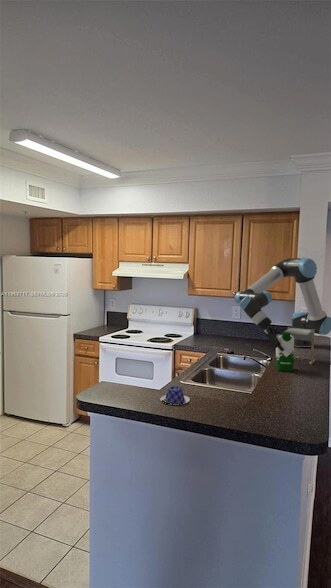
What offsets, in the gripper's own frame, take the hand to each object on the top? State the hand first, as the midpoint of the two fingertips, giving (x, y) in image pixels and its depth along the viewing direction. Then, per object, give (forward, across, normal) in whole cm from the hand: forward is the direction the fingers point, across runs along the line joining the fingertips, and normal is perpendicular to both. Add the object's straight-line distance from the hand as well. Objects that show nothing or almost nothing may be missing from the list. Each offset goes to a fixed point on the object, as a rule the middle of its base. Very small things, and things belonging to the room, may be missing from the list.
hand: (290, 353), depth 196 cm
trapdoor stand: (+6, -23, -7) cm, 25 cm away
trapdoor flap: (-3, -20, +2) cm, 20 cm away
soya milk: (+4, 0, -9) cm, 10 cm away
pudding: (-13, +71, -26) cm, 77 cm away
